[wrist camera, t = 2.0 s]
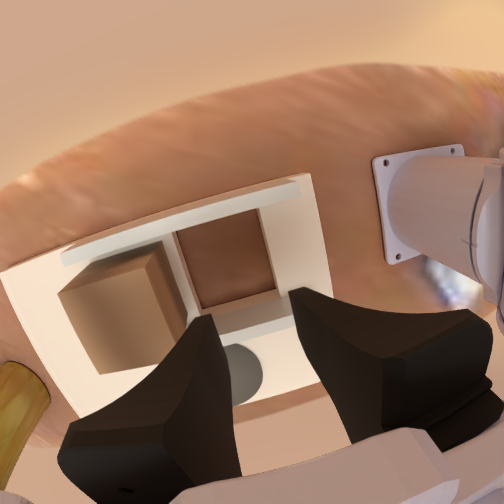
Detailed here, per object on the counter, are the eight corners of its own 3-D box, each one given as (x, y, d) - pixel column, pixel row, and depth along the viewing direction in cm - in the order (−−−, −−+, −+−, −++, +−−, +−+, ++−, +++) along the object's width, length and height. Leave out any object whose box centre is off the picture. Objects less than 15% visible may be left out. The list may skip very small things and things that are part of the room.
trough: (286, 178, 17) (297, 181, 15) (312, 299, 20) (324, 316, 17) (76, 242, 17) (59, 253, 14) (123, 349, 19) (114, 370, 17)
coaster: (250, 331, 20) (251, 335, 19) (269, 392, 22) (271, 396, 21) (166, 352, 20) (165, 356, 19) (196, 410, 21) (196, 414, 21)
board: (302, 172, 19) (310, 173, 18) (336, 362, 24) (343, 373, 22) (8, 267, 18) (-2, 273, 16) (91, 416, 22) (87, 427, 21)
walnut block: (161, 240, 18) (144, 267, 13) (187, 313, 19) (182, 358, 14) (90, 262, 17) (57, 293, 12) (120, 330, 19) (99, 374, 14)
